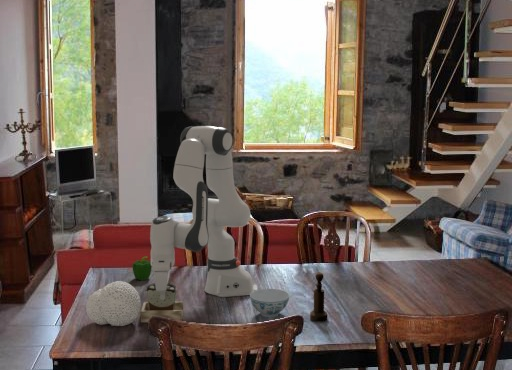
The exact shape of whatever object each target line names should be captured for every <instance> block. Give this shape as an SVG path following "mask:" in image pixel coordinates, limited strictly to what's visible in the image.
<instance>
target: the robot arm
mask: <svg viewBox="0 0 512 370" xmlns="http://www.w3.org/2000/svg"><path fill="white" fill-rule="evenodd" d="M232 134H233V133H232V132H231V131H230V130H229V129H228V128H226V127H222V126H218V127H217V126H212V125H201V126H199V125H197V126H196V125H191V126H188V127H185V128H184V129H183V130H182V131H181V134H180V137H179V140H180V141H179V142H180V144H179V147H178V151H177V154H176V157H175V161H174V167H173V172H172V173H173V177H172V178H173V180H174V183H175V185H176V186H177V187H178V188H179V189H180V190H182V192H184V193H186V194H188V195H189V197H191V199H192V211H191V212H192V214H191V215H192V222H191V223H188V222H183V221H177V220H175V219H173V218H172V217H171V216H169V215H161V216H160V215H159V216H157V217H155V218H154V219H152V221H151V224H150V232H149V233H150V234H149V236H150V237H149V239H150V241H149V242H150V245H151V249H150V261H151V266H152V268H151V272H153V276H154V283H155V287H156V291H157V292H159V293H160V299H161V300H164V299H165V292H166V289H167V285H168V283H169V280H170V275H171V274H170V271H171V270H172V268H173V266H175V264H176V260H175V259H176V258H175V253H176V252H175V248H178V249H183V250H188V251H189V252H194V253H198V252H199V253H200V251H202V250H203V249H204V248H205V247H206V246H207V255H208V256H207V259H206V270H207V277H206V283H205V287H204V292H205V293H206V294H209V295H213V296H216V297H218V298H227V297H240V296H250V294H251V293H252V292H253V291H256V290H259V288H258V285H257V284H256V283H254V282H253V278H252V276H251V274H250V272H249V271H247V270H245V269H244V268H243V267H241V261H240V259H239V257H236V256H235V239H234V237H233V236H232V235H231V234H229V233H228V232H227V231H226V229H225V227H228V228H241V227H245V226H246V225H247V224H248V223H249V221H250V220H251V219H250V218H251V210H250V207H249V205H248V204H247V203H246V202H244V201H243V200H242V198H241V196H240V195H239V194H238V191H237V189H236V187H235V186H236V185H235V180H234V165H233V162H234V161H233V154H232V148H233V144H234V143H233V142H234V139H233V138H234V137H233V135H232ZM204 167H205V174H206V176H205V178H206V183H205V180H204V176H203V175H204ZM208 189H209V190H210V191H212V192H213V193H214V194H215V195H216V197H217V198H210V197H209V193H208V191H209V190H208ZM208 197H209V198H208Z"/></svg>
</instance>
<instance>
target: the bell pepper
mask: <svg viewBox="0 0 512 370" xmlns="http://www.w3.org/2000/svg"><path fill="white" fill-rule="evenodd" d="M147 259H148V256H143V257H142V258H141V260H138V259H137V260H135V261H134V262H133V263H132V272H133V273H132V274H133V275H134V278H135V279H136V280H139V281H146V280H147V279H150V276H151V272H152V266H151V260H150V261H149V260H147Z"/></svg>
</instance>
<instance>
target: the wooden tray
mask: <svg viewBox="0 0 512 370" xmlns="http://www.w3.org/2000/svg"><path fill="white" fill-rule="evenodd" d="M141 306H142V307H141V308H140V323H149V322H148V320H149V319H150V317H152V316H161V317H166V318H172V319H181V320H182V321H183V315H184V301H175V307H174V310H149V306H148V301H144V302H143V304H142V305H141Z"/></svg>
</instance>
